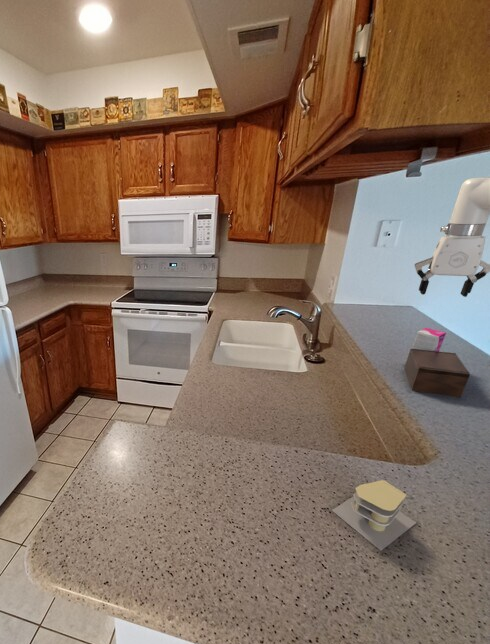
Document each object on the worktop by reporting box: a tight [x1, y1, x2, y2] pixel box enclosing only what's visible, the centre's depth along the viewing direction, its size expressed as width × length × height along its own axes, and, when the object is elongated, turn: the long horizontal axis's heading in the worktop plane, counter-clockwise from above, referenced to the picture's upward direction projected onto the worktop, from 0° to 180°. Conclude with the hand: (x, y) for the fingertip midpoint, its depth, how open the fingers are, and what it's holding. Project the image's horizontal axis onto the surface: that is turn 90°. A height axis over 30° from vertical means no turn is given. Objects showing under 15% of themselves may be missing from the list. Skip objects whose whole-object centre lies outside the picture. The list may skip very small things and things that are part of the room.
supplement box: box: [411, 327, 447, 352], centre depth 103 cm, size 6×6×12 cm
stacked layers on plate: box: [331, 479, 417, 551], centre depth 56 cm, size 10×9×6 cm
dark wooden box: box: [403, 348, 471, 398], centre depth 95 cm, size 11×14×7 cm
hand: (442, 294), depth 95 cm, fingers open, 9 cm apart
